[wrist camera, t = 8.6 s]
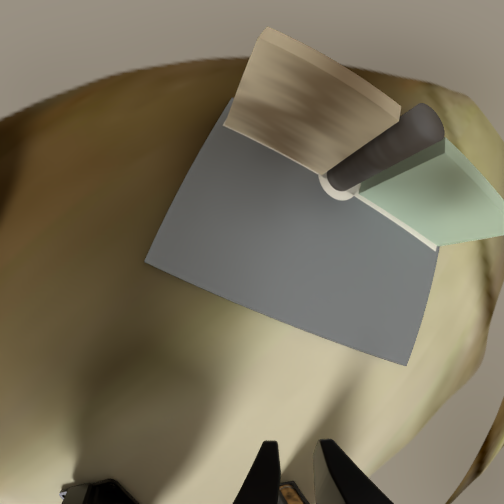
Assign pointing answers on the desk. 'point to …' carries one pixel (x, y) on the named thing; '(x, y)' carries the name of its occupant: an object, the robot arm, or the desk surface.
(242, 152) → the card
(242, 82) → the fixed fence panel
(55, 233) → the desk surface
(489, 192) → the panel
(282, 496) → the ammunition clip
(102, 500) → the robot arm
